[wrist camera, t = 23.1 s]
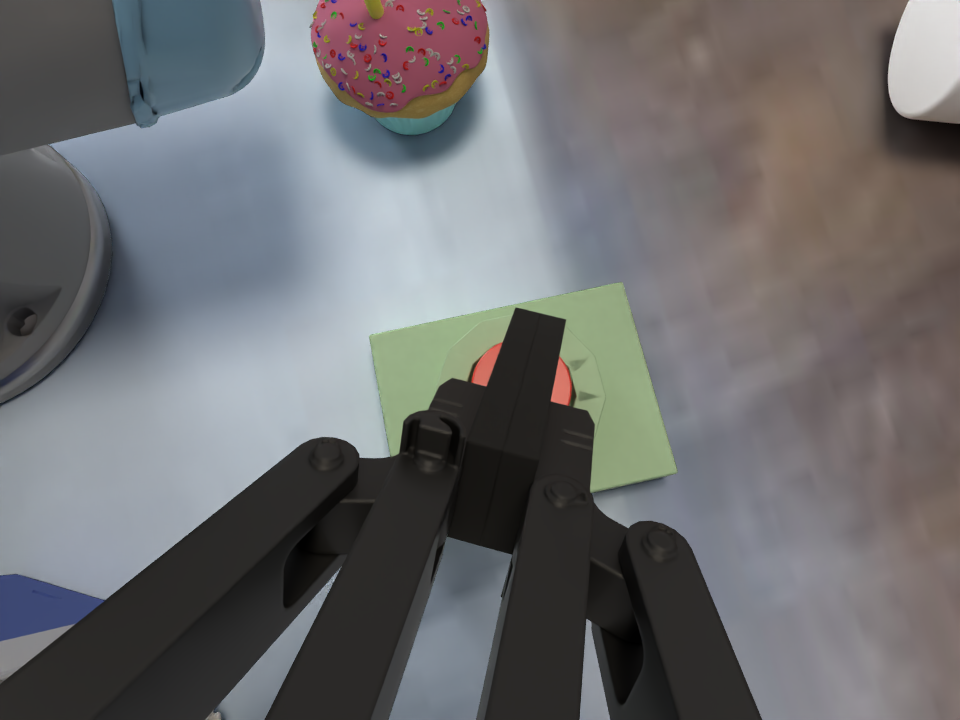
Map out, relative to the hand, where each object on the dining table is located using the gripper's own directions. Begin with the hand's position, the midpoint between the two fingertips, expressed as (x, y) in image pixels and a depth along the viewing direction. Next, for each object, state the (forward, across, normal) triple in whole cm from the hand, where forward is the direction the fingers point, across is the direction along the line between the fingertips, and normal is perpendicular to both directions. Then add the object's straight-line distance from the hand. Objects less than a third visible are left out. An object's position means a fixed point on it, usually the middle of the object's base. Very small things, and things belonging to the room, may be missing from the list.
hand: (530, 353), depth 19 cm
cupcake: (+20, -10, +3) cm, 22 cm away
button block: (+9, 0, -8) cm, 12 cm away
